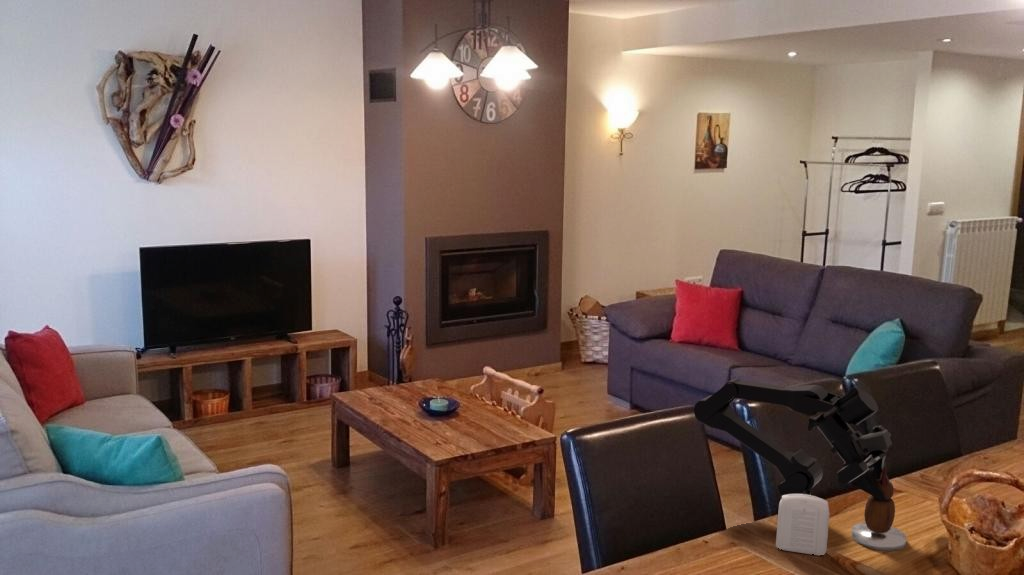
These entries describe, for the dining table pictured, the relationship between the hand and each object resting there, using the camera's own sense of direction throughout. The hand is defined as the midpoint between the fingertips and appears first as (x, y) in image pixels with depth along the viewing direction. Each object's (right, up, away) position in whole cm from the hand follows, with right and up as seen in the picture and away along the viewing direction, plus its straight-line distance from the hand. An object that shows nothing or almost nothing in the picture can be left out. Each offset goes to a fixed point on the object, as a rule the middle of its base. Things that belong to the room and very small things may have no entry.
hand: (888, 496), depth 194 cm
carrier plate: (-1, -10, +3) cm, 10 cm away
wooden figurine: (-1, -8, +2) cm, 8 cm away
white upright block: (-20, -11, -3) cm, 23 cm away
